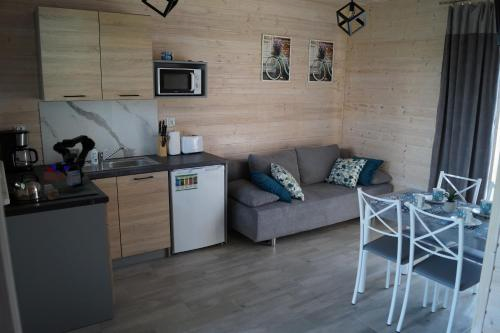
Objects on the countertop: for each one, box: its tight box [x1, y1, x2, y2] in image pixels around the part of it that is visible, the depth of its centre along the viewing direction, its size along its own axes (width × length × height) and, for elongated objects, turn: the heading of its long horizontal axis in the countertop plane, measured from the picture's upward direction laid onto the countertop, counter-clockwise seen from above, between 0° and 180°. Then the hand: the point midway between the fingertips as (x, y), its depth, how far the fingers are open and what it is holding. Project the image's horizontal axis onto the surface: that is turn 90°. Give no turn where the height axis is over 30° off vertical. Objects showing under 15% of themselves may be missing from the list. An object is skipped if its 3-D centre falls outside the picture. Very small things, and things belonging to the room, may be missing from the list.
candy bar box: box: [68, 148, 81, 162], centre depth 358 cm, size 11×5×16 cm, turn 84°
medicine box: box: [65, 170, 81, 187], centre depth 274 cm, size 8×4×9 cm, turn 156°
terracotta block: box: [43, 183, 53, 195], centre depth 272 cm, size 4×4×6 cm
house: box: [42, 161, 70, 182], centre depth 319 cm, size 12×20×12 cm, turn 165°
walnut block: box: [47, 188, 60, 201], centre depth 262 cm, size 5×5×5 cm
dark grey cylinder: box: [44, 186, 55, 198], centre depth 267 cm, size 5×5×6 cm
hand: (73, 174), depth 273 cm, fingers closed on medicine box, 9 cm apart
